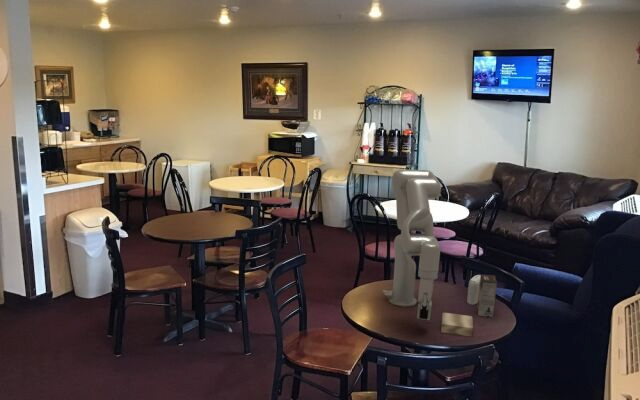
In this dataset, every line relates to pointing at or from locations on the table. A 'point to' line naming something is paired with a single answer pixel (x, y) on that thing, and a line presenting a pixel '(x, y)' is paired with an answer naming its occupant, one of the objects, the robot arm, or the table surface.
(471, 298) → the photo printer
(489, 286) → the coffee box
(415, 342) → the table surface
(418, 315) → the sage block
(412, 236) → the robot arm
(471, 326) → the maple base
